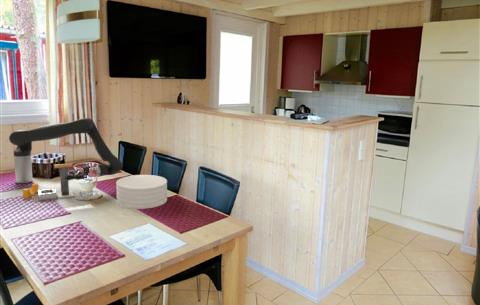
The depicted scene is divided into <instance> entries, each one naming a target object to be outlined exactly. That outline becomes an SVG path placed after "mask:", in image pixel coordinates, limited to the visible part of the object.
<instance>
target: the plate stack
mask: <svg viewBox="0 0 480 305" xmlns="http://www.w3.org/2000/svg"><path fill="white" fill-rule="evenodd" d="M115 183H116V184H115V185H116V188H115V189H116V203H117V205H118V206H120V207H122V208H126V209H136V210H137V209H139V210H142V209H143V210H144V209H151V208H157V207H159V206H162V205H164V204H165V203H166V202H167V201H168V180H167V179H166V178H165V177H163V176H160V175H154V174H153V175H152V174H134V175H129V176H123V177H121V178H119V179H117V180H116V182H115Z"/></svg>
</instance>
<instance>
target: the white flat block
mask: <svg viewBox="0 0 480 305" xmlns="http://www.w3.org/2000/svg"><path fill="white" fill-rule="evenodd" d="M57 193H58V192H57V190H56V188H55V187H54V188H46V189H38V192H37V196H38V198H39V201H40V202H43V201H42V200H49V201H52V200H51V199H57ZM57 200H58V199H57Z"/></svg>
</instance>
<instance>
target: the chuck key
mask: <svg viewBox="0 0 480 305" xmlns="http://www.w3.org/2000/svg"><path fill="white" fill-rule="evenodd" d="M73 167H74V166H73V163H72V162H70V163H59V164H54V169H59V174H60V178H59V179H60V193H61V195H69V192H70V188H69V187H70V186H69V184H70V183H69V180H67V176H68V174H69V173H68V170H69V168H73Z"/></svg>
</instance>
